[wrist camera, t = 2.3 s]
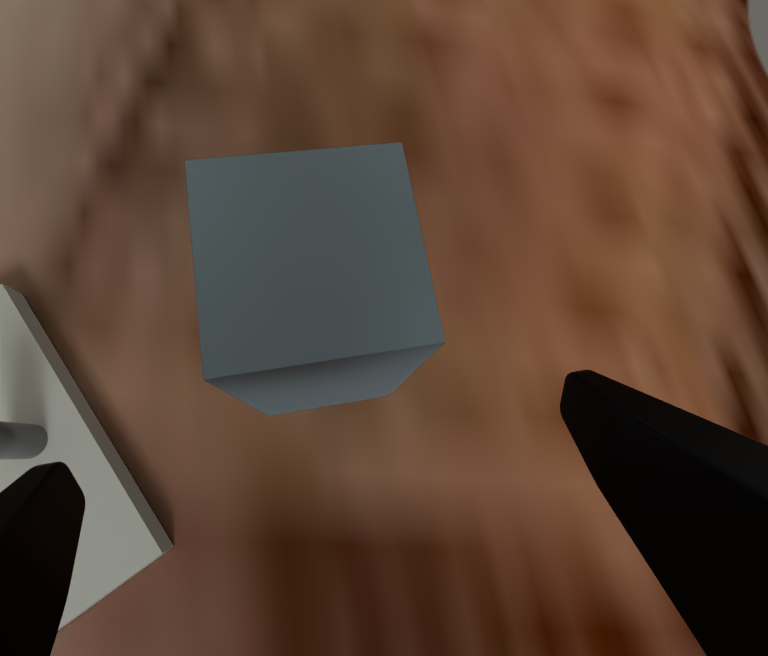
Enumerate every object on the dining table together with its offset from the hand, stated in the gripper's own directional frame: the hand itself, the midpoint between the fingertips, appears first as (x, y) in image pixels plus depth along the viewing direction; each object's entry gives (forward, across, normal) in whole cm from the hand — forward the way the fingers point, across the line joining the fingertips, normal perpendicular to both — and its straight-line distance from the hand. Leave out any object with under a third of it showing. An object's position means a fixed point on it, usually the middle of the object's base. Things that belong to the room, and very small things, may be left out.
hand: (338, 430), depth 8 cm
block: (+10, 0, +5) cm, 11 cm away
